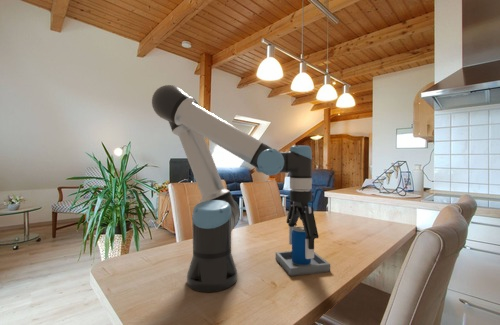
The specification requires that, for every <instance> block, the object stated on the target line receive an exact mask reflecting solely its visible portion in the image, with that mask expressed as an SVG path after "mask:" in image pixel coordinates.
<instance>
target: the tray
mask: <svg viewBox="0 0 500 325" xmlns="http://www.w3.org/2000/svg"><path fill="white" fill-rule="evenodd" d="M275 260H276V261H277V262H278V264H279V265H280V267H282V268H283V270H285V272H286V273H287V274H288V275H289V277H296V276H297V277H298V276H306V275H315V274H323V273H330V272H331V263H330V262H328V261H327V260H326V259H325V258H323V257H322V256H320V255H319V254H318V253H316V252H315V251H314V258H312V259H311V263H310V264H308V265H305V266H298V265H296V264H294V263H293V262H292V250H288V251H287V250H286V251H276V252H275Z"/></svg>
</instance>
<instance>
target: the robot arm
mask: <svg viewBox="0 0 500 325" xmlns="http://www.w3.org/2000/svg"><path fill="white" fill-rule="evenodd" d="M151 106H152V109H153V111H154V112H155V114H156V115H157V116H158V117H160V118H161V119H163V120H165V121H168V124H169V127H170V129H171V132H172V133H173V134H174V135H176V136H178V138H179V140H180V143H181V146H182V148H183V151H184V153H185V156H186V159H187V161H188V164H189V166H190V169H191V171H192V174H193V177H194V180H195V182H196V184H197V187H198V190H199V192H200V195H201V199H200V201H199V203H197V204H196V205H195V206H194V207H193V209H192V214H191V215H192V217H191V221H192V257H191V261H190V264H189V267H188V271H187V276H186V283H187V286H188V287H189V288H190V289H192V290H193V291H196V292H201V293H215V292H216V293H217V292H221V291H224V290H226V289H229V288H231V287H232V286H233V285H235V283H237V281H238V270H237V266H236V263H235V260H234V257H233V254H232V231H233V229H235V227H236V226H237V225H238V223H239V222H240V218H241V209H240V206H239V204H238V203H237V201H236V200H235V199H234V197H233V195H232V193H231V191H230V189H227V188H226V187H225V186H224V184H223V182H222V178H221V177H220V174H219V171H218V168H217V166H216V164H215V160H214V158H213V156H212V153H211V149H210V147H209V145H208V143H207V140H208V141H210V142H212V143H214V144H216V145H217V146H219V147H220V148H221V149H224V150H226V151H227V152H229V153H231V154H232V155H234V156H236V157H238V158H239V159H241V160H243V161H245V162H246V163H248V164H249V165H251V166H252V167H253V168H255V170H256V172H257V173H261V174H264V175H266V176H276V175H278V174H280V173H281V174H282V173H283V174H284V173H285V174H287V173H288V174H289V189H290V191H289V200H290V201H289V209H288V213H287V215H286V216H287V217H286V223H287V225H288V245H290V246H292V231H293V228H294V227H298V224H297V223H298V220H301V222H302V227H304V229H305V233H306V237H305V258H306V259H312V258H314V252H315V239H319V232H318V228H317V223H316V219H315V213H314V211H315V210H314V206H309V203H311V202H312V201H313V192H312V189H313V188H312V187H313V186H312V185H313V184H312V183H313V170H312V169H313V154H312V148H311V146H310V145H292V146H291V145H290V147H289V151H279V150H277V149H275V148H272V147H271V146H270V145H268V144H265V143H264V142H262V141H260V140H259V139H258V138H255V137H254V136H252V135H250V134H249V133H247V132H245V131H243V130H241V129H239V128H237V127H236V126H234V125H233V124H231V123H229V122H227V121H226V120H224V119H222V118H220V117H218V116H217V115H215V114H214V113H212V112H210V111H208V110H206V109H205V108H203V107H201V106H200V104H199V103H198V102H197V100H196V99H195V98H194V97H192V96H191V95H189V94H188V93H187V92H185V91H184V90H182V89H181V88H179V87H178V86H175V85H172V84H165V85H161V86H160V87H159V88H156V90H155V91H154V92H153V95H152V99H151ZM206 139H207V140H206Z"/></svg>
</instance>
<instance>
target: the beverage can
mask: <svg viewBox="0 0 500 325" xmlns="http://www.w3.org/2000/svg"><path fill="white" fill-rule="evenodd" d="M305 237H306V233H305V229H304V226H296V227H294V228H293V231H292V245H291V251H292V262H293V263H294V264H296V265H298V266H305V265H308V264H310V263H311V259H306V258H305Z"/></svg>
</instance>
